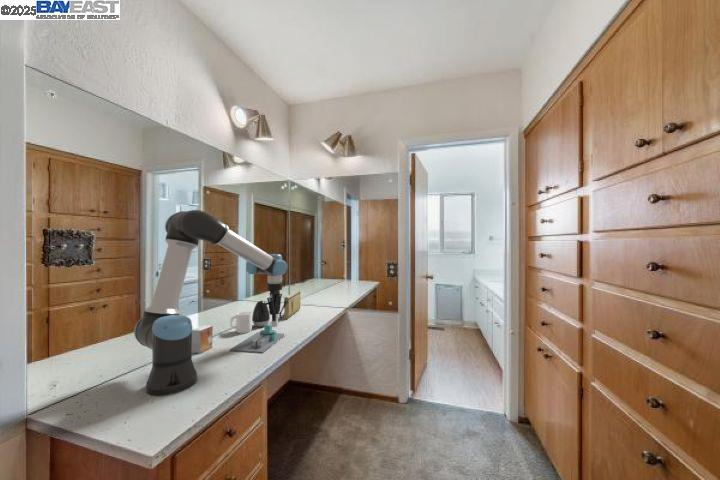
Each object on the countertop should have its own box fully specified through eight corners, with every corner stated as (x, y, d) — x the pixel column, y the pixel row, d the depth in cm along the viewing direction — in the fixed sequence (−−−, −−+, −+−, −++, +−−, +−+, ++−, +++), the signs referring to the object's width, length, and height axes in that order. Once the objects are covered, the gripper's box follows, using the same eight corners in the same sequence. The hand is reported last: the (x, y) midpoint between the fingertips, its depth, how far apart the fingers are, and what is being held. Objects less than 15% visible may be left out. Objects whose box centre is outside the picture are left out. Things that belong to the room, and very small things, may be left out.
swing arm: (267, 336, 149) (267, 331, 149) (270, 337, 148) (270, 331, 149) (251, 347, 134) (251, 341, 134) (255, 347, 134) (255, 341, 134)
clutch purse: (292, 309, 213) (292, 289, 214) (301, 309, 213) (301, 290, 213) (276, 320, 184) (276, 297, 184) (287, 320, 183) (287, 297, 183)
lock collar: (262, 338, 147) (262, 324, 147) (276, 339, 146) (276, 324, 146) (259, 339, 144) (260, 325, 145) (274, 340, 143) (274, 326, 143)
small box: (200, 353, 128) (200, 330, 128) (189, 352, 129) (189, 329, 129) (212, 347, 136) (213, 325, 136) (202, 346, 137) (202, 324, 137)
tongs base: (272, 335, 151) (272, 330, 151) (277, 335, 151) (277, 330, 151) (254, 347, 134) (254, 341, 134) (261, 348, 133) (261, 341, 133)
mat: (263, 353, 129) (263, 351, 129) (229, 350, 131) (229, 349, 131) (286, 334, 154) (286, 333, 154) (257, 333, 157) (257, 332, 157)
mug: (226, 333, 157) (226, 315, 157) (233, 329, 165) (233, 311, 165) (248, 333, 157) (248, 315, 157) (254, 329, 165) (254, 311, 165)
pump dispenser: (266, 328, 167) (266, 302, 167) (249, 328, 167) (249, 302, 167) (272, 323, 177) (272, 299, 177) (255, 323, 177) (256, 299, 177)
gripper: (275, 284, 145) (275, 330, 145) (286, 281, 158) (286, 323, 158) (262, 284, 147) (262, 329, 146) (273, 281, 160) (273, 322, 159)
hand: (274, 326), depth 152 cm, fingers closed
